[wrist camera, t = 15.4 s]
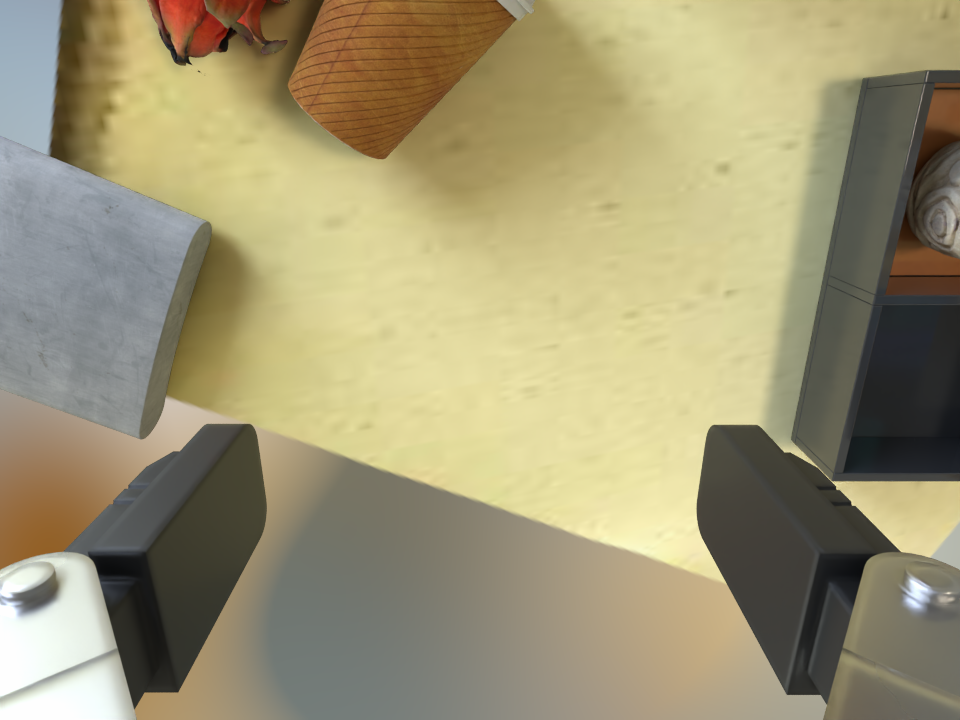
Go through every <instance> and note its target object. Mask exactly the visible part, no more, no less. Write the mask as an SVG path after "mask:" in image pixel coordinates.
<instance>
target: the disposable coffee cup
mask: <svg viewBox="0 0 960 720" xmlns="http://www.w3.org/2000/svg"><path fill="white" fill-rule="evenodd" d="M534 1H535V0H324V2H323V4H322V6H321V8H320V11H319V13H318V16H317V18H316V20H315V23H314V25H313V27H312V30H311V32H310V34H309V37H308V39H307V41H306V43H305V46H304V48H303V50H302V53H301V55H300V57H299V59H298V61H297V64H296V66H295V69H294V71H293V73H292V75H291V77H290V79H289V82H288V89H289V90H290V92H291V94H292V96H293V97H294V99H295V100H296V102H297V103H298V104H299V106H300V107H301V108H302V109H303V110H304V111H305V112H306V113H307V114H308V115H309V116H310V117H311V118H312V119H313V120H314V121H315V122H316V123H317V124H319V125H320V126H321V127H322V128H324V129H325V130H326V131H327V132H328V133H330V134H331V135H332V136H334V137H335V138H337V139H338V140H340V141H341V142H343V143H344V144H345V145H347V146H349V147H351V148H352V149H354V150H356V151H358V152H360V153H362V154H364V155H367V156H369V157H372V158H376V159H385V158H386V157H387V156H388V155H389V154H390V153H391V152H392V151H393V150H394V148H395V147H396V146H397V145H398V144H399V143H400V142H401V141H402V140H403V139H404V138H405V137H406V136H407V135H408V134H409V133H410V132H411V131H412V129H413V128H414V127H415V126H416V125H417V124H418V123H419V122H420V121H421V120H422V119H423V118H424V117H425V116H426V115H427V114H428V112H429V111H430V110H431V109H433V108H434V107H435V105H436V104H437V103H438V102H439V101H440V100H441V99H442V98H443V97H444V96H445V94H446V93H447V92H448V91H449V90H450V89H451V88H452V87H453V86H454V85H455V84H456V83H457V82H458V81H459V80H460V79H461V78H462V76H463V75H465V74H466V73H467V72H468V70H469V69H470V68H471V67H472V66H473V65H474V64H475V63H476V62H477V61H478V60H479V58H480V57H482V56H483V55H484V54H485V53H486V51H487V50H488V49H489V48H490V47H491V46H492V45H493V44H494V43H495V41H496V40H497V39H498V38H499V37H500V36H501V35H502V34H503V33H504V32H505V31H506V30H507V29H508V28H509V27H510V26H511V24H512V23H513V22H514V21H515V20H516V19H517V20H518V21H520V20H521V19H522V18H523V17H524V16H525V15H526V14H527V13H528V12H529V13H530V14H532V13H533V12H534V10H533V8H532V6H533V3H534Z"/></svg>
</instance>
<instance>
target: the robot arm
mask: <svg viewBox="0 0 960 720" xmlns="http://www.w3.org/2000/svg"><path fill="white" fill-rule="evenodd" d="M266 511H267V505H266V495H265V488H264V481H263V474H262V467H261V460H260V453H259V446H258V439H257V434H256V431H255V429H254V427H253V426H252V425H251V424H206V425H204V426H203V427H202V428H201V429H200V430H199V431H198V432H197V434H196V435H195V436H194V437H193V438H192V439H191V440H190V441H189V442H188V443H187V444H186V446H185V447H184V448H183V449H182V450H181V451H180V452H172V453H170V454H168V455H167V456H165V457H163V458H161V459H160V460H158V461H156V462H154V463H153V464H151V465H149V466H147V467H146V468H145V469H144V470H143V471H142V472H141V473H140V474H139V475H138V476H137V477H136V478H135V479H134V480H133V481H132V482H131V483H130V484H129V487H128V489H124V490H123V491H122V492H121V493H120V494H119V495H118V496H117V497H116V498H115V499H114V503H113V504H111V505H109V506H108V507H107V508H106V509H105V510H104V511H103V512H102V513H101V514H100V515H99V516H98V517H97V518H96V519H95V520H94V521H93V522H92V523H91V524H90V525H89V526H88V527H87V528H86V529H85V530H84V531H83V532H82V533H81V534H80V535H79V536H78V537H77V538H76V539H75V540H74V541H73V542H72V543H71V544H70V545H69V546H68V547H67V548H66V549H65V550H64V552H57V553H49V554H44V555H39V556H35V557H32V558H28V559H25V560H22V561H20V562H17V563H14V564H12V565H10V566H7V567H5V568H3V569H1V570H0V720H137V718H136V715H135V711H134V709H135V708H136V706H137V704H138V702H139V701H140V699H141V698H142V696H143V694H144V692H179V690H180V688H181V686H182V684H183V682H184V680H185V679H186V677H187V675H188V673H189V671H190V669H191V667H192V665H193V664H194V662H195V660H196V658H197V656H198V654H199V652H200V650H201V649H202V647H203V645H204V643H205V641H206V639H207V637H208V635H209V634H210V632H211V630H212V628H213V626H214V624H215V622H216V620H217V619H218V617H219V615H220V613H221V611H222V609H223V607H224V605H225V603H226V602H227V600H228V598H229V596H230V594H231V592H232V590H233V589H234V587H235V585H236V583H237V581H238V579H239V577H240V575H241V574H242V572H243V570H244V568H245V566H246V564H247V562H248V560H249V559H250V557H251V555H252V553H253V551H254V549H255V547H256V545H257V544H258V542H259V540H260V538H261V536H262V533H263V530H264V526H265V521H266ZM697 520H698V526H699V530H700V533H701V536H702V538H703V540H704V542H705V544H706V546H707V548H708V550H709V552H710V553H711V555H712V557H713V559H714V561H715V563H716V564H717V566H718V568H719V570H720V572H721V574H722V576H723V577H724V579H725V581H726V583H727V585H728V587H729V589H730V590H731V592H732V594H733V596H734V598H735V600H736V601H737V603H738V605H739V607H740V609H741V611H742V613H743V614H744V616H745V618H746V620H747V622H748V624H749V626H750V627H751V629H752V631H753V633H754V635H755V637H756V638H757V640H758V642H759V644H760V646H761V648H762V650H763V651H764V653H765V655H766V657H767V659H768V661H769V663H770V664H771V666H772V668H773V670H774V672H775V674H776V675H777V677H778V679H779V681H780V683H781V685H782V687H783V688H784V690H785V692H786V694H787V695H821V696H822V698H823V699H824V701H825V703H826V704H827V707H826V711H825V715H824V718H823V720H960V570H959V569H957V568H955V567H953V566H950V565H948V564H946V563H943V562H940V561H938V560H935V559H932V558H928V557H925V556H921V555H916V554H911V553H903V552H900V551H899V550H898V549H897V548H896V547H895V546H894V545H893V544H892V543H891V542H890V541H889V540H888V539H887V538H886V537H885V536H884V535H883V533H882V532H881V531H880V530H879V529H878V528H877V527H876V526H875V525H874V524H873V523H872V522H871V521H870V520H869V519H868V518H867V517H866V516H865V515H864V514H863V513H862V512H861V511H860V510H859V509H858V508H857V507H856V506H852V505H851V501H850V500H849V499H848V498H847V497H846V496H845V495H844V494H843V493H842V492H841V491H840V490H836V486H835V485H834V484H833V483H832V482H831V481H830V480H829V479H828V478H827V477H826V476H825V475H824V474H823V473H822V472H821V471H820V470H819V469H818V468H817V467H815V466H813V465H811V464H810V463H808V462H806V461H804V460H803V459H801V458H799V457H797V456H795V455H794V454H792V453H784V452H783V451H782V450H781V449H780V448H779V446H778V445H777V444H776V443H775V442H774V441H773V440H772V439H771V438H770V437H769V436H768V435H767V434H766V433H765V431H764V430H763V429H762V428H761V427H760V426H758V425H713V426H711V427H710V429H709V431H708V433H707V437H706V443H705V450H704V457H703V463H702V470H701V477H700V484H699V491H698V498H697Z"/></svg>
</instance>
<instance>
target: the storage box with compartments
mask: <svg viewBox="0 0 960 720" xmlns="http://www.w3.org/2000/svg"><path fill="white" fill-rule="evenodd" d="M959 140H960V70H924V71H916V72H908V73H900V74H893V75H885V76H877V77H869V78H863V81H862V86H861V91H860V96H859V101H858V106H857V111H856V116H855V121H854V126H853V131H852V136H851V141H850V146H849V151H848V156H847V161H846V166H845V171H844V176H843V181H842V186H841V192H840V197H839V202H838V207H837V212H836V217H835V222H834V227H833V232H832V237H831V242H830V247H829V252H828V257H827V262H826V267H825V272H824V277H823V282H822V287H821V292H820V297H819V302H818V307H817V312H816V317H815V322H814V327H813V332H812V337H811V342H810V347H809V352H808V358H807V363H806V368H805V373H804V378H803V383H802V388H801V393H800V398H799V403H798V408H797V413H796V418H795V423H794V428H793V433H792V438H791V440H792V441H793V442H794V443H795V444H796V445H797V446H798V447H799V448H800V449H801V450H802V451H803V452H804V453H805V454H806V455H807V456H808V457H809V458H810V459H811V460H812V461H813V462H814V463H815V464H816V465H817V466H818V467H819V468H820V469H821V470H822V471H823V472H824V473H825V474H826V475H827V476H828V477H829V478H830V479H831V480H832V481H960V259H958V258H953V257H951V256H947V255H944V254H942V253H940V252H938V251H935V250H933V249H931V248H929V247H926V246H924V245H923V244H922V243H921V242H920V240H919V239H918V238H917V237H916V236H915V234H914V233H913V232H912V230H911V228H910V226H909V222H908V219H907V209H906V205H907V201H908V197H909V193H910V188H911V185H912V183H913V181H914V180H915V178H916V176H917V175H918V173H919V172H920V170H921V169H922V167H923V166H924V165H925V164H926V163H927V162H928V161H929V160H930V159H931V157H932V156H933V155H934V154H935V153H937V152H938V151H939V150H940V149H942V148H943V147H944V146H946V145H948V144H951V143H953V142H956V141H959Z"/></svg>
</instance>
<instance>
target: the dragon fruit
mask: <svg viewBox="0 0 960 720" xmlns="http://www.w3.org/2000/svg"><path fill="white" fill-rule="evenodd" d="M147 1H148V3H149V6H150V8H151V11H152V15H153V18H154V19H155V21H156V23H157V25H158V30H159V34H160V36H161V38H162V40H163V42H164V44H165V46H166V47H167V48H168V49H169V50H170V52H171V55H172V58H173V60H174V62H175V63H177V64H178V65H184V66H185V65H186V63H188V64H191V63H190V61H189V58H188V57H189V56H191V57H195V58H197V57H205V56H207V55H208V54H210V53H211V52H226V51H227V49H228V39H230V38H232V37H233V36H234V35H235V34H237V33H238V34H239V35H240V36H241V37H242V38H243V39H244V40H245V41H246V42H247V43H248V45H249V46H251V44H252V42H253V40H256V41H257V42H259V43H261V44H264V47H263V48H262V50H261V53H263V54H269V53H272V52H274V53H276V52H277V51H279V50H281V49H283V48H284V46H285V45H286V44H287V40H284V41H279V40H277V41H268V40H266V39H265V38H264V37H263V35H262V32H261V23H260V14H261V10H262V8H263V6H264V4H265V3H266V1H267V0H147ZM272 1H273V2H275V3H278V4H285V3H289V1H290V0H272ZM233 29H234V30H233ZM191 65H192V64H191ZM191 70H192V69H191ZM197 70H198V69H197ZM198 72H200V71H199V70H198Z"/></svg>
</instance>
